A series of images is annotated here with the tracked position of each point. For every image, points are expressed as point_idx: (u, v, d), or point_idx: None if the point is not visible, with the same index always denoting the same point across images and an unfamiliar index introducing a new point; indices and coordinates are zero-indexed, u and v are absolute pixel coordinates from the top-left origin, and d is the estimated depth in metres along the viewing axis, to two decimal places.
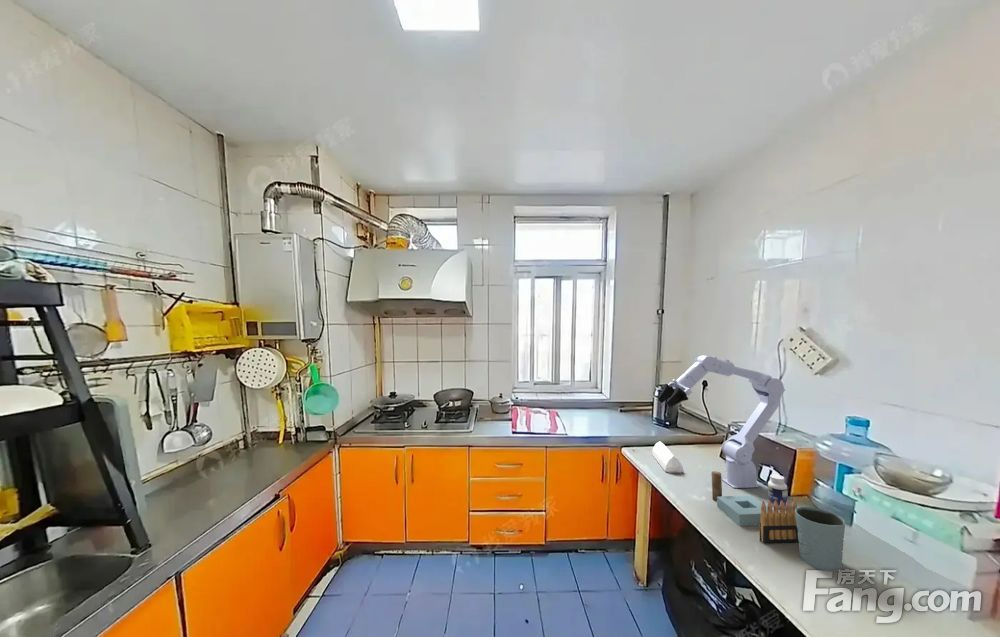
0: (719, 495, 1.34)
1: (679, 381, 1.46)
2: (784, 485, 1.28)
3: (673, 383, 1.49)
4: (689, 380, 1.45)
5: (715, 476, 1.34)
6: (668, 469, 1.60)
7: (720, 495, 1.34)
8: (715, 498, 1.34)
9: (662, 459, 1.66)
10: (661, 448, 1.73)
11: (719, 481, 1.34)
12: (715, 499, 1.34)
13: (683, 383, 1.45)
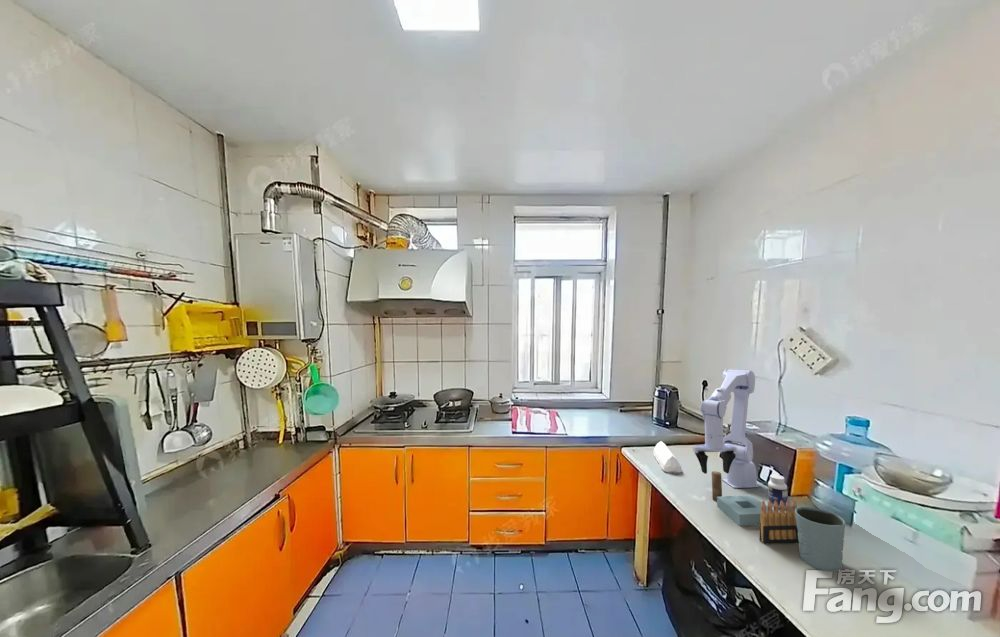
0: (719, 495, 1.34)
1: (721, 446, 1.33)
2: (784, 485, 1.28)
3: (711, 450, 1.33)
4: None
5: (715, 476, 1.34)
6: (666, 469, 1.60)
7: (720, 495, 1.34)
8: (715, 498, 1.34)
9: (662, 459, 1.66)
10: (661, 448, 1.73)
11: (719, 481, 1.34)
12: (715, 499, 1.34)
13: (723, 444, 1.34)
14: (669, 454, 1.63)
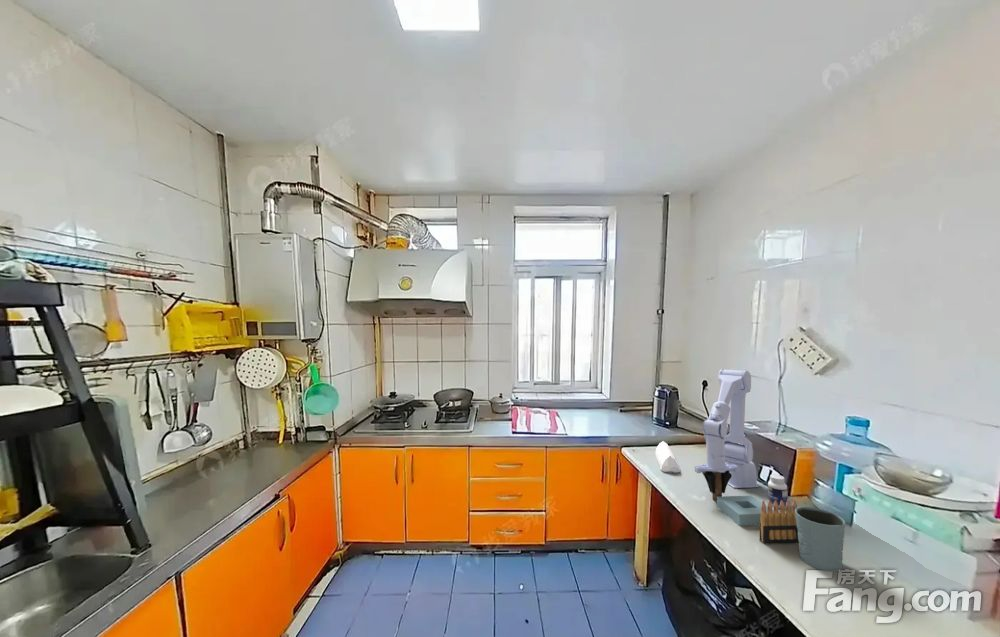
0: (719, 495, 1.34)
1: (723, 466, 1.33)
2: (784, 485, 1.28)
3: (713, 470, 1.33)
4: None
5: None
6: (664, 468, 1.61)
7: (720, 495, 1.34)
8: (715, 498, 1.34)
9: (660, 459, 1.67)
10: (662, 448, 1.73)
11: (719, 481, 1.34)
12: (715, 499, 1.34)
13: (725, 464, 1.34)
14: (667, 454, 1.63)
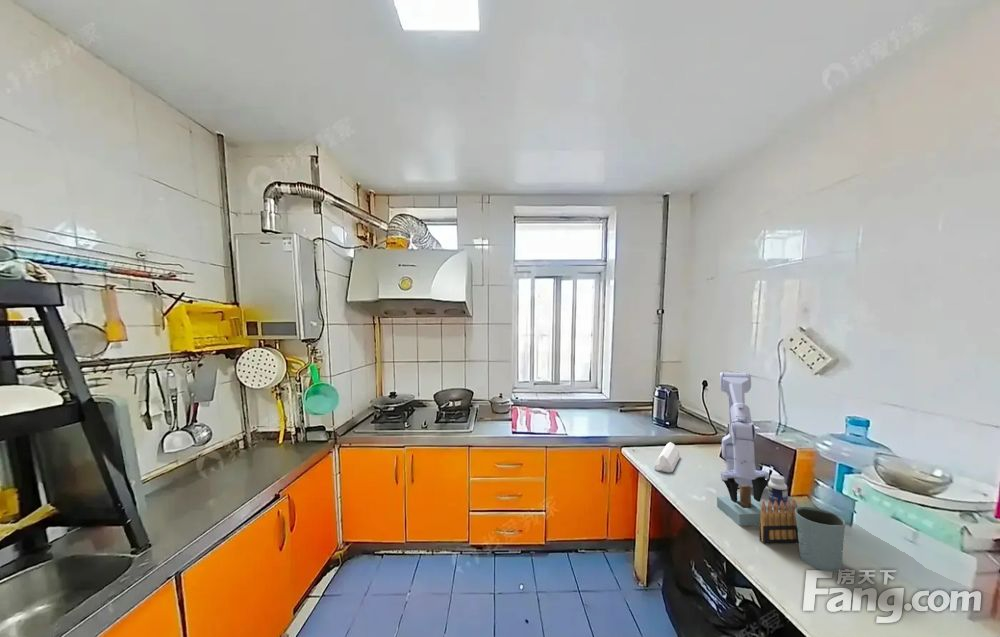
0: None
1: (753, 473, 1.22)
2: (784, 485, 1.28)
3: (742, 477, 1.22)
4: None
5: (744, 490, 1.23)
6: (656, 467, 1.63)
7: None
8: None
9: None
10: (665, 448, 1.73)
11: (748, 495, 1.23)
12: None
13: (754, 470, 1.23)
14: (662, 453, 1.64)
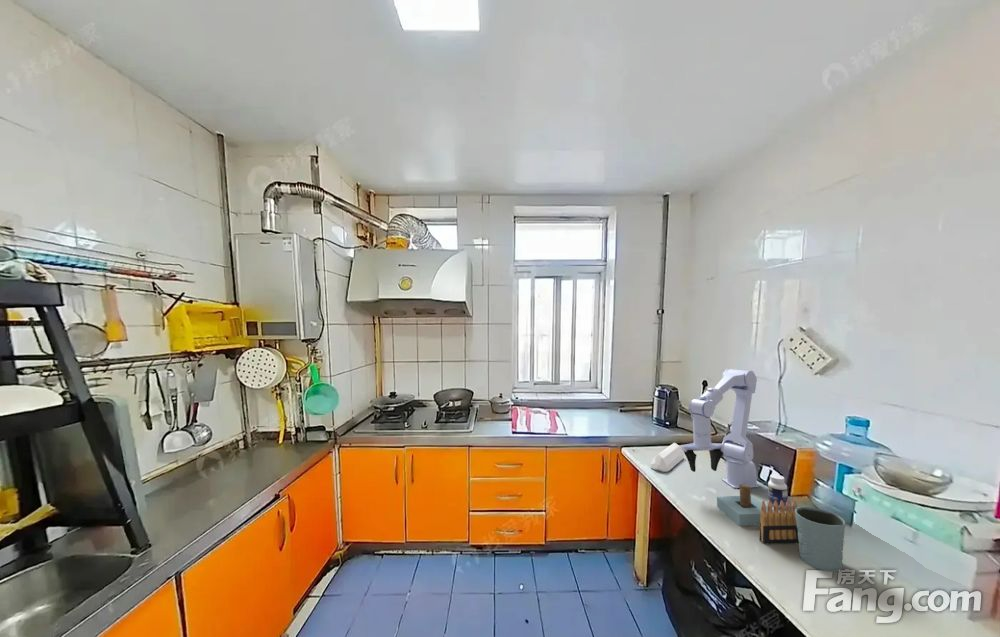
0: None
1: (709, 445, 1.36)
2: (784, 485, 1.28)
3: (700, 449, 1.36)
4: None
5: (744, 490, 1.23)
6: (652, 465, 1.64)
7: None
8: None
9: None
10: None
11: (748, 495, 1.23)
12: None
13: (711, 443, 1.37)
14: (659, 453, 1.65)
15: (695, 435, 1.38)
